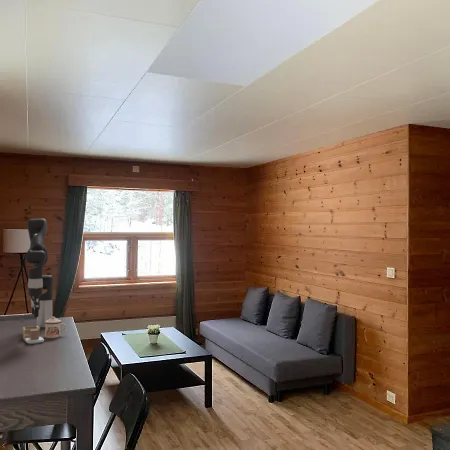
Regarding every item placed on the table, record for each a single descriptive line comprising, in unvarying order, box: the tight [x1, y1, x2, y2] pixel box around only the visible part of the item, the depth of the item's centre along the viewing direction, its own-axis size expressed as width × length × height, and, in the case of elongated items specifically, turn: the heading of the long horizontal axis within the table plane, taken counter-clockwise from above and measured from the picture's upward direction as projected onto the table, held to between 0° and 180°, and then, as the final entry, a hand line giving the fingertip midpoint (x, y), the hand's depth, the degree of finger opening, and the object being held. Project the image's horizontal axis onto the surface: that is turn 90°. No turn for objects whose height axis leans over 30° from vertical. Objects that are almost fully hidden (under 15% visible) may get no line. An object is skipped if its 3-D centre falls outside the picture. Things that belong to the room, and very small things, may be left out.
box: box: [22, 325, 41, 341], centre depth 270 cm, size 8×8×6 cm
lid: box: [24, 329, 45, 345], centre depth 259 cm, size 9×9×7 cm
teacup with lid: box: [44, 316, 67, 339], centre depth 275 cm, size 12×9×12 cm
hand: (35, 315), depth 260 cm, fingers open, 8 cm apart
